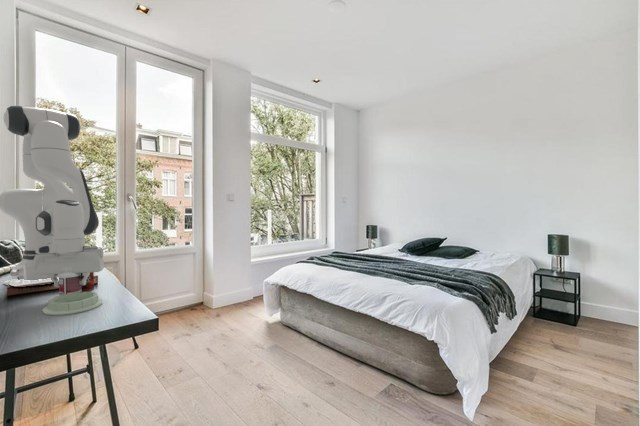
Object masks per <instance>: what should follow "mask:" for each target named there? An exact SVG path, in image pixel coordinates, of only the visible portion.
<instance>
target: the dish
mask: <svg viewBox="0 0 640 426" xmlns="http://www.w3.org/2000/svg"><path fill="white" fill-rule="evenodd" d="M47 301H48V302H47V305H46V306H44V308H42V314H44V315H47V316H65V315H72V314H77V313H79V314H80V313H83V312H87V311H90V310H94V309H97V308H98V307H101V306H102V305H103V299H102V298H100V297H99V295H98V293H97V292H91V291H82V292H81V293H73V294H66V295H62V296H59V295H58V296H54V297H52V298H50V299H48V300H47Z"/></svg>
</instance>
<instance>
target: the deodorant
mask: <svg viewBox="0 0 640 426" xmlns="http://www.w3.org/2000/svg"><path fill="white" fill-rule="evenodd" d="M94 273H95V272H90V275H89V276H88V278H87V279H86V285H82V286H81V288H82V292H89V291H91V290H94V289H95V278H94V277H95V275H94ZM83 278H84V276H83V274H82V273H81V280H82V279H83Z"/></svg>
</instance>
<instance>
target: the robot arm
mask: <svg viewBox="0 0 640 426" xmlns="http://www.w3.org/2000/svg"><path fill="white" fill-rule="evenodd" d="M3 122H4V124H5V126H6V129H7V130H8V132H10V133H12V134H14V135H17V136H22V137H23V139H22V171H23V173H24V175H25V176H26V177H28V178H30V179H32V180H34V181H38V182H39V183H41V184H43V186H44V188H12V189H6V190H4V191H2V192H1V193H0V210H1V212H2V213H4V214H6V215H7V216H9V217H11V218H12V219H13V220H15V221H16V222H17V223H18V224H19V225H20V227H21V229H22V232H23V234H24V243H25V244H24V245H25V249H24V250H23V251H21V253H22V260H21V261H20V262H19V263H17V264H16V265H15V266H14V267H13V268H12V269H11V270H10V276H11V279H18V280H20V279H24V280H38V279H47V278H51V280H52V281H53V282H54V284H53V287H54V288H59V280H58V279H57V277H59V275H60V274H62V273H64V272H63V271H62V268H63V267H72V271H70V272H71V273H82V274H83V276H84V278H83V279H82V280H80V281H79V283H80V284H79V285H80V286H82V285H86V279H87V278H88V276H89V275H90V272H94V273H100V272H102V271H103V269H105V263H104V262H105V261H104V249H103V248H102V247H101V246H99V245H92V246H91V245H86V237H85V236H89V235H91V234H93V232H95V231H96V230H97V229H98V227H99V222H100V221H99V217H98V214H97V212H96V210H95V207H94V204H93V201H92V198H91V193H90V190H89V186H88V184H87V180H86V177H85V173H84V172H83V170H82V168H80V167H78V166H77V165H76V164H75V162H74V160H73V157H72V154H71V146H70V145H71V144H70V141H72V140H75V139H76V138H78V137H79V135H80V133H81V128H82V127H81V123H80V119H79V118H78V117H77V116H76V114H72V113H69V112H63V111H59V110H54V109H49V108H39V107H31V106H29V107H27V106H25V107H24V106H21V105H10V106H8V107H7V108H6V110H5V112H4V114H3ZM11 279H8V280H4V281H3V285H6V286H9V285H8V284H9V281H10V280H11Z"/></svg>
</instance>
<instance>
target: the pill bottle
mask: <svg viewBox="0 0 640 426" xmlns="http://www.w3.org/2000/svg"><path fill="white" fill-rule="evenodd" d="M62 271H63V272H64V273H62V274H60V275H59V287H58V289H59V290H58V292H59V293H58V294H59V295H58V296H62V295H66V294H73V293H81V292H83V291H82V288H81V286H80V285H79V284H80V283H79V281H80V280H81V273H71V272H70V271H72V267H63V268H62Z"/></svg>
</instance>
